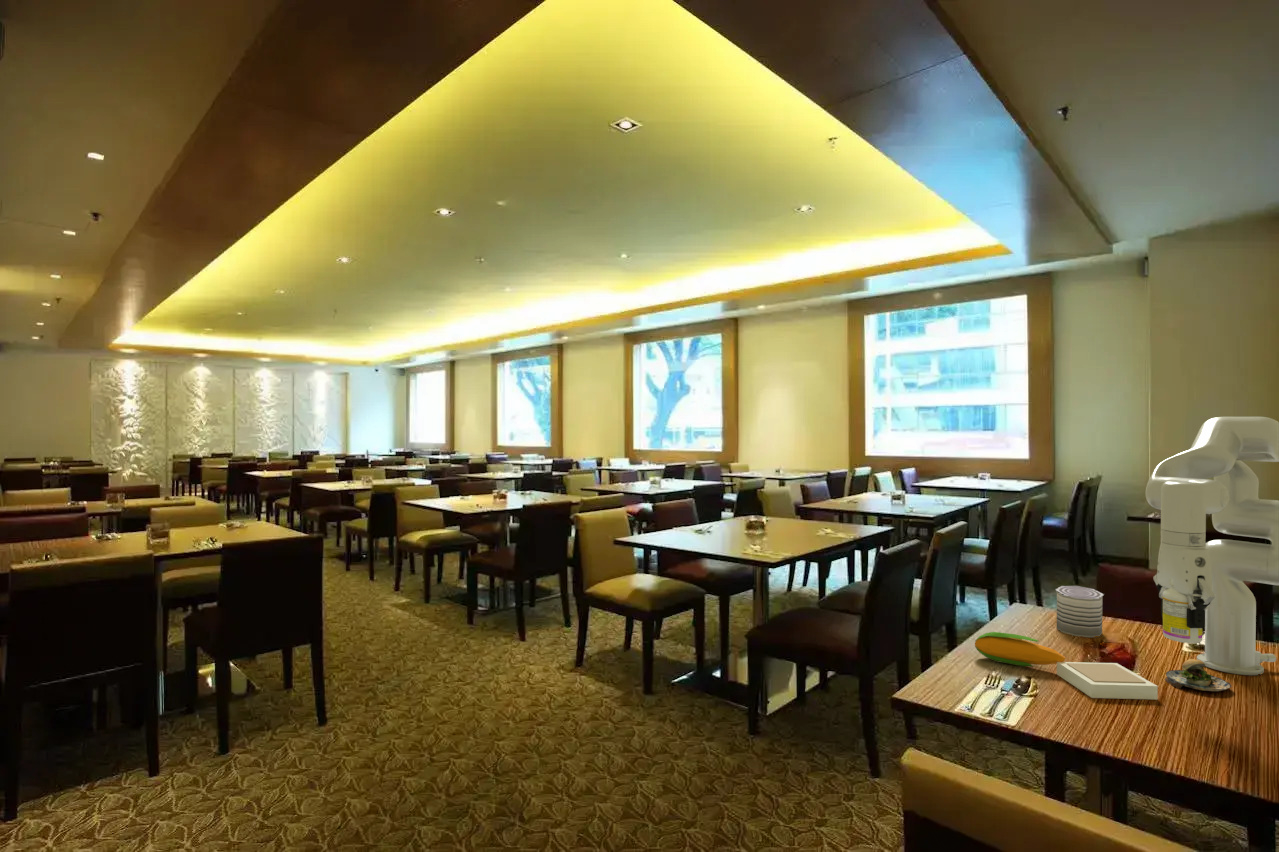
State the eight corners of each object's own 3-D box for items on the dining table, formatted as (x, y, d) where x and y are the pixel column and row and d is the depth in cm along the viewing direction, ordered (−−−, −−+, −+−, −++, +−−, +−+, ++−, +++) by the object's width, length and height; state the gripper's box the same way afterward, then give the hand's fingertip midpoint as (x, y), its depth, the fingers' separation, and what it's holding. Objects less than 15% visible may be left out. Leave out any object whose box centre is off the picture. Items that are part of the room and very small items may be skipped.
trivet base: (1116, 675, 164) (1116, 662, 163) (1157, 699, 150) (1157, 684, 150) (1056, 674, 164) (1056, 660, 164) (1091, 697, 150) (1091, 683, 150)
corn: (977, 623, 179) (1066, 637, 168) (978, 651, 180) (1067, 667, 168) (972, 632, 173) (1064, 646, 162) (972, 661, 174) (1064, 678, 162)
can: (1106, 631, 198) (1106, 590, 198) (1098, 640, 190) (1098, 597, 190) (1061, 623, 206) (1061, 583, 206) (1051, 631, 198) (1052, 590, 197)
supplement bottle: (1187, 634, 148) (1187, 576, 148) (1210, 644, 142) (1210, 583, 142) (1155, 633, 149) (1155, 575, 149) (1176, 643, 142) (1176, 582, 142)
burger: (1176, 692, 154) (1176, 659, 154) (1157, 674, 165) (1157, 643, 165) (1242, 700, 150) (1242, 666, 150) (1217, 681, 161) (1218, 649, 161)
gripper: (1234, 547, 136) (1233, 635, 137) (1170, 532, 154) (1170, 610, 154) (1196, 546, 137) (1195, 635, 137) (1136, 532, 154) (1136, 610, 154)
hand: (1182, 621), depth 145 cm, fingers closed on supplement bottle, 6 cm apart
